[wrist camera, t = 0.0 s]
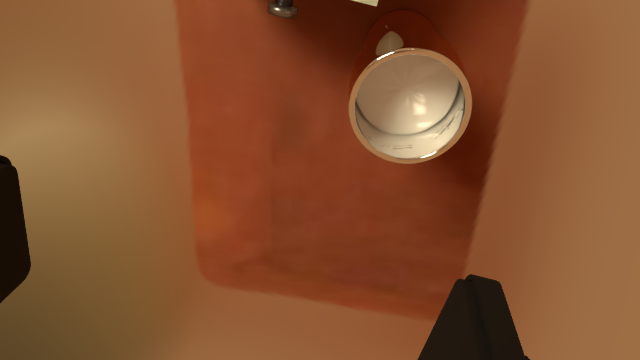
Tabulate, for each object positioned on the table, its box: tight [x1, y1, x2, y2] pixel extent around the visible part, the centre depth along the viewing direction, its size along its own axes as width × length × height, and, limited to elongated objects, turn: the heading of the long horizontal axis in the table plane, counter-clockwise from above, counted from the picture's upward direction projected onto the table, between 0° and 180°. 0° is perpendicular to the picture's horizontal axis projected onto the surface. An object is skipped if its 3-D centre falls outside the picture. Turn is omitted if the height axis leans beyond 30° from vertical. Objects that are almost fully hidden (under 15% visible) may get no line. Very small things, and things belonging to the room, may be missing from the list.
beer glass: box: [348, 10, 472, 164], centre depth 31 cm, size 7×7×15 cm
